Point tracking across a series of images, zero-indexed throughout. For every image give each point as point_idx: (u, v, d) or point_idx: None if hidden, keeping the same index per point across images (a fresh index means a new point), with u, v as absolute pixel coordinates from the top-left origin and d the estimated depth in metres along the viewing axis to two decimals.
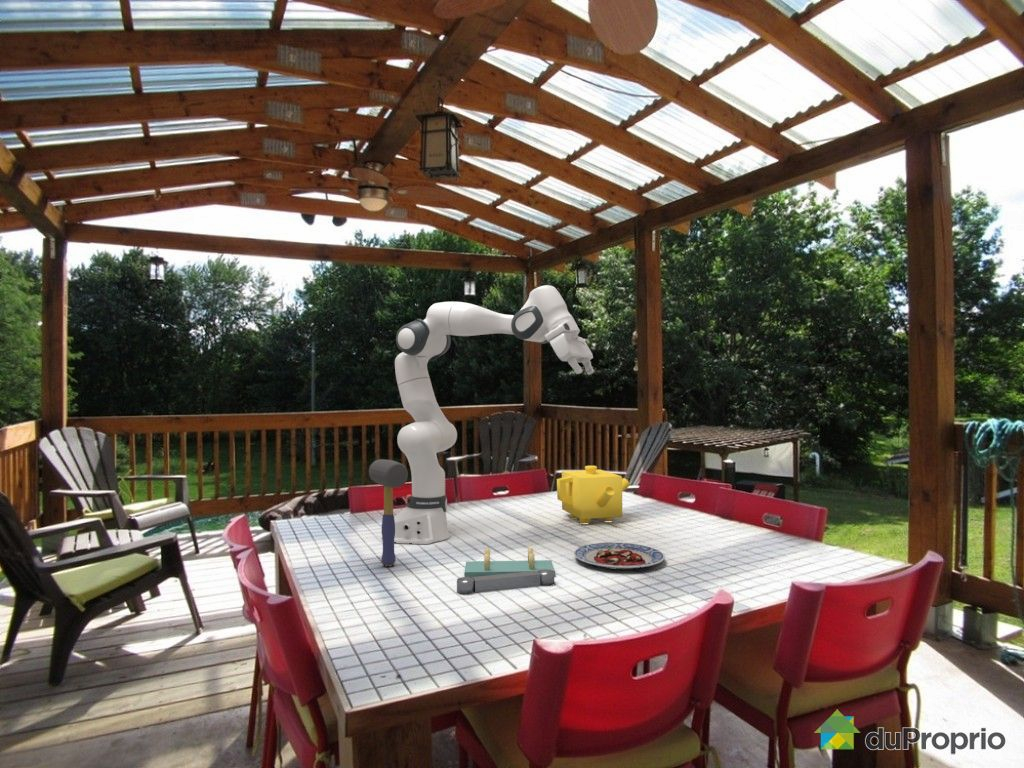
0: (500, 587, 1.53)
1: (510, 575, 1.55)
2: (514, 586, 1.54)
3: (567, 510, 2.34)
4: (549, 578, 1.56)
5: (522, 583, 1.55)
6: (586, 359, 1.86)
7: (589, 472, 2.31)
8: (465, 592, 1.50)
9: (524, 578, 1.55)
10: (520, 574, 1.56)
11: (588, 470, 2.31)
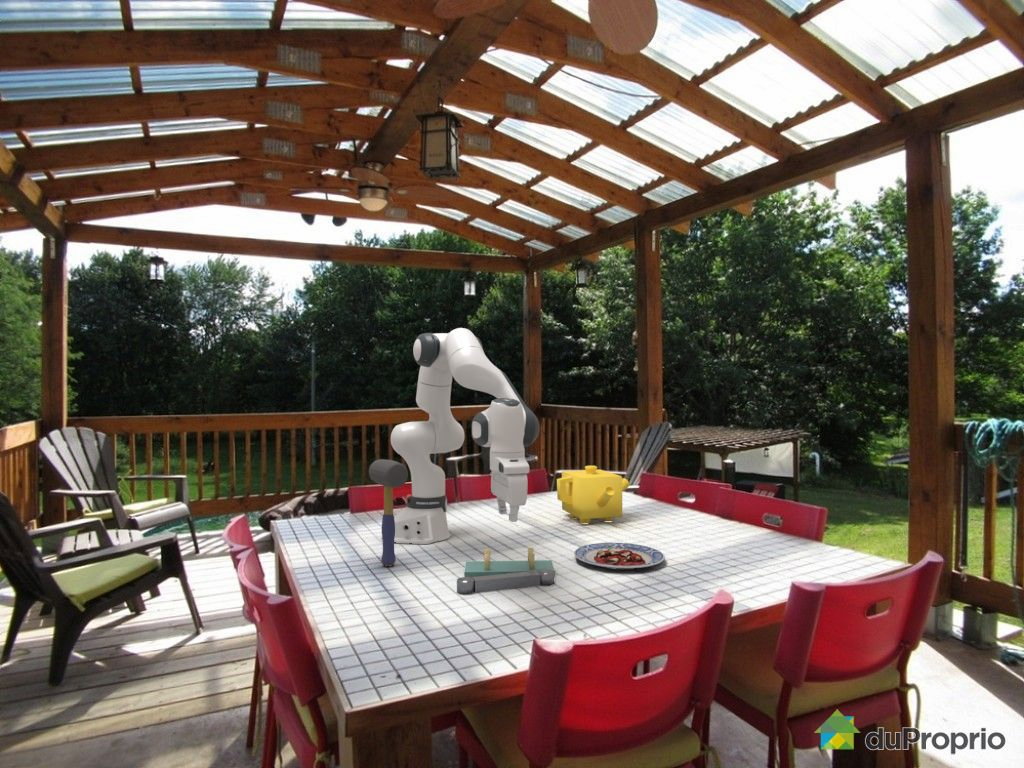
0: (500, 587, 1.53)
1: (510, 575, 1.55)
2: (514, 586, 1.54)
3: (567, 510, 2.34)
4: (549, 578, 1.56)
5: (522, 583, 1.55)
6: None
7: (589, 472, 2.31)
8: (465, 592, 1.50)
9: (524, 578, 1.55)
10: (520, 574, 1.56)
11: (588, 470, 2.31)
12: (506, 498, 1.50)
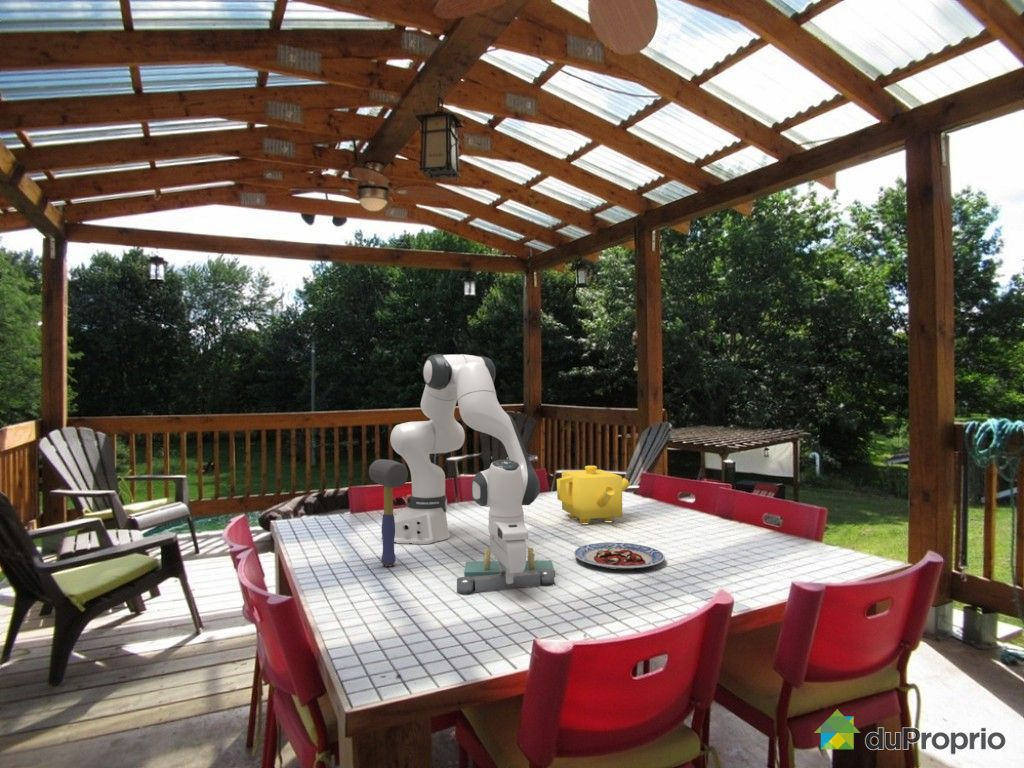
0: (500, 587, 1.53)
1: None
2: (514, 586, 1.54)
3: (567, 510, 2.34)
4: (549, 578, 1.56)
5: (522, 583, 1.55)
6: None
7: (589, 472, 2.31)
8: (465, 592, 1.50)
9: (524, 578, 1.55)
10: (520, 574, 1.56)
11: (588, 470, 2.31)
12: (505, 563, 1.50)
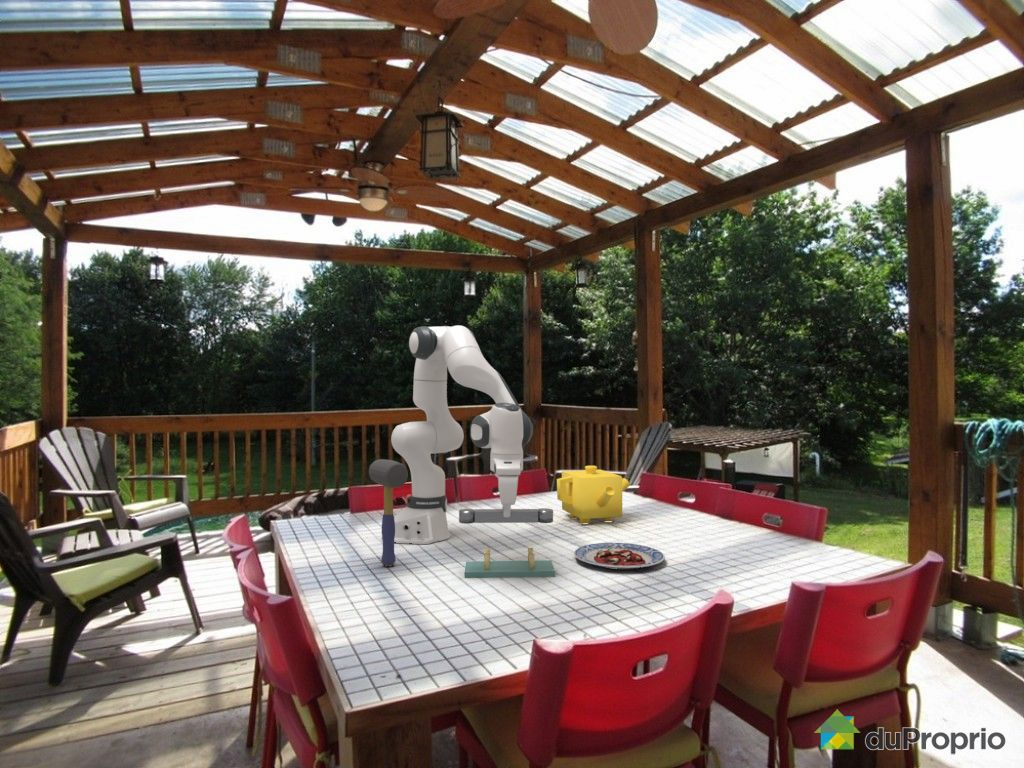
0: (499, 520, 1.64)
1: None
2: (512, 520, 1.65)
3: (567, 510, 2.34)
4: (546, 516, 1.64)
5: (520, 518, 1.65)
6: None
7: (589, 472, 2.31)
8: (465, 521, 1.63)
9: (522, 514, 1.65)
10: (519, 510, 1.66)
11: (588, 470, 2.31)
12: None
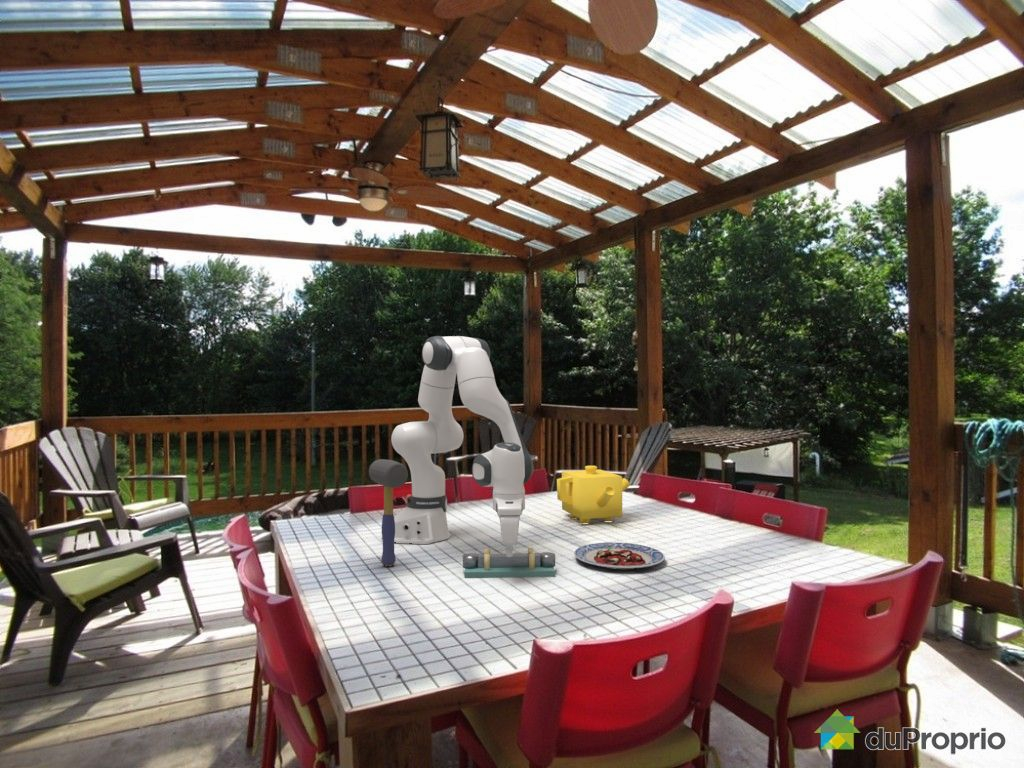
0: (501, 565, 1.67)
1: None
2: (515, 565, 1.67)
3: (567, 510, 2.34)
4: (548, 560, 1.66)
5: (523, 563, 1.67)
6: None
7: (589, 472, 2.31)
8: (468, 566, 1.66)
9: (524, 559, 1.67)
10: (522, 554, 1.68)
11: (588, 470, 2.31)
12: None
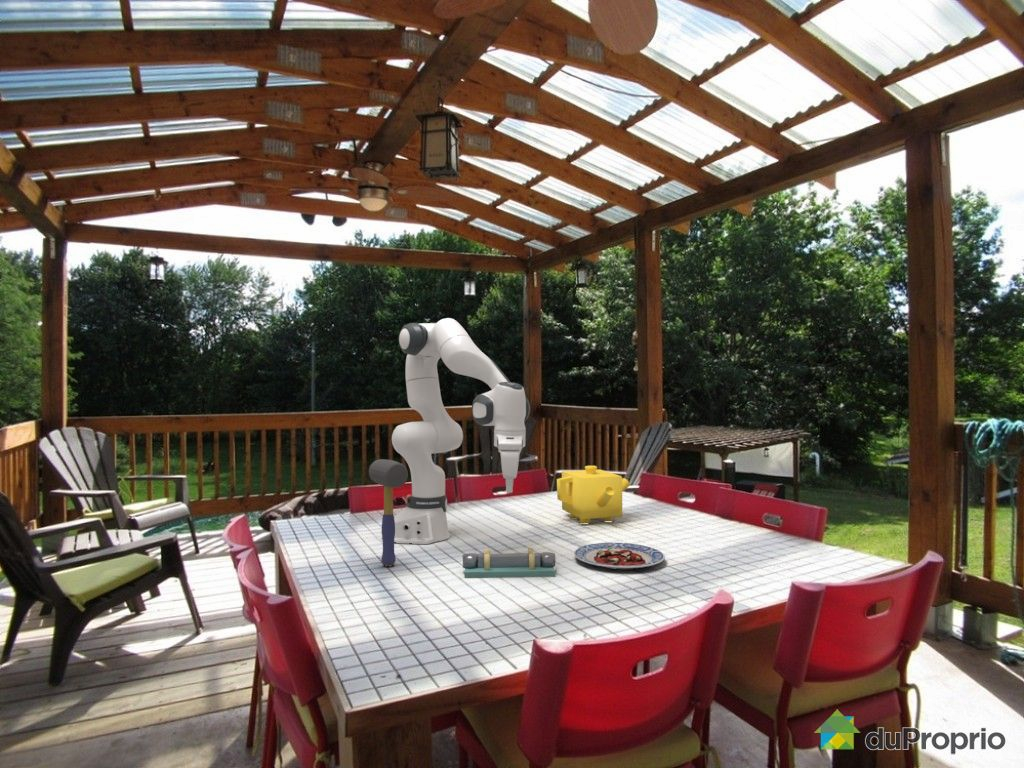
0: (501, 565, 1.67)
1: (512, 555, 1.68)
2: (515, 565, 1.67)
3: (567, 510, 2.34)
4: (548, 560, 1.66)
5: (523, 563, 1.67)
6: None
7: (589, 472, 2.31)
8: (468, 566, 1.66)
9: (524, 559, 1.67)
10: (522, 554, 1.68)
11: (588, 470, 2.31)
12: None
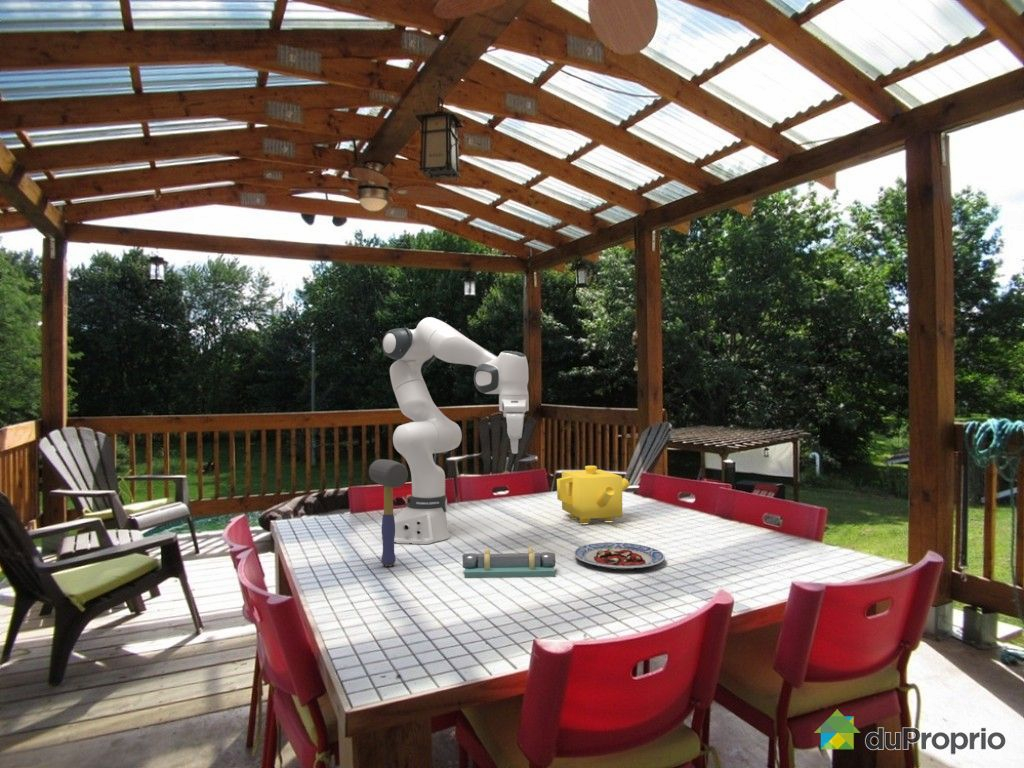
0: (501, 565, 1.67)
1: (512, 555, 1.68)
2: (515, 565, 1.67)
3: (567, 510, 2.34)
4: (548, 560, 1.66)
5: (523, 563, 1.67)
6: None
7: (589, 472, 2.31)
8: (468, 566, 1.66)
9: (524, 559, 1.67)
10: (522, 554, 1.68)
11: (588, 470, 2.31)
12: None
